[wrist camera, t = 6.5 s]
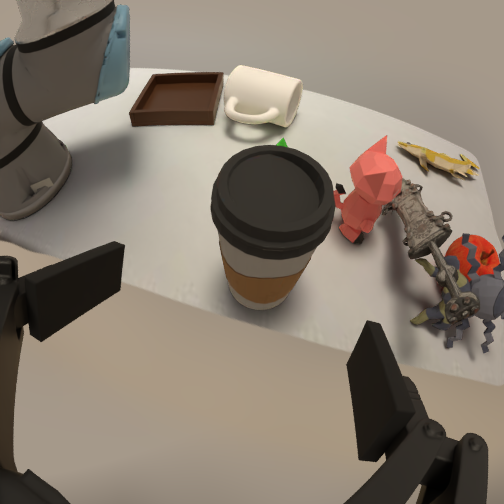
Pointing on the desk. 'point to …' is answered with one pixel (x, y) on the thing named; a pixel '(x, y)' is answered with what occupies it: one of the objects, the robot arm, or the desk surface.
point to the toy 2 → (484, 287)
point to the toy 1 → (440, 160)
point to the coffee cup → (270, 220)
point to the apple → (483, 255)
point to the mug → (261, 96)
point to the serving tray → (178, 99)
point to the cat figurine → (368, 191)
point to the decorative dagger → (432, 247)
